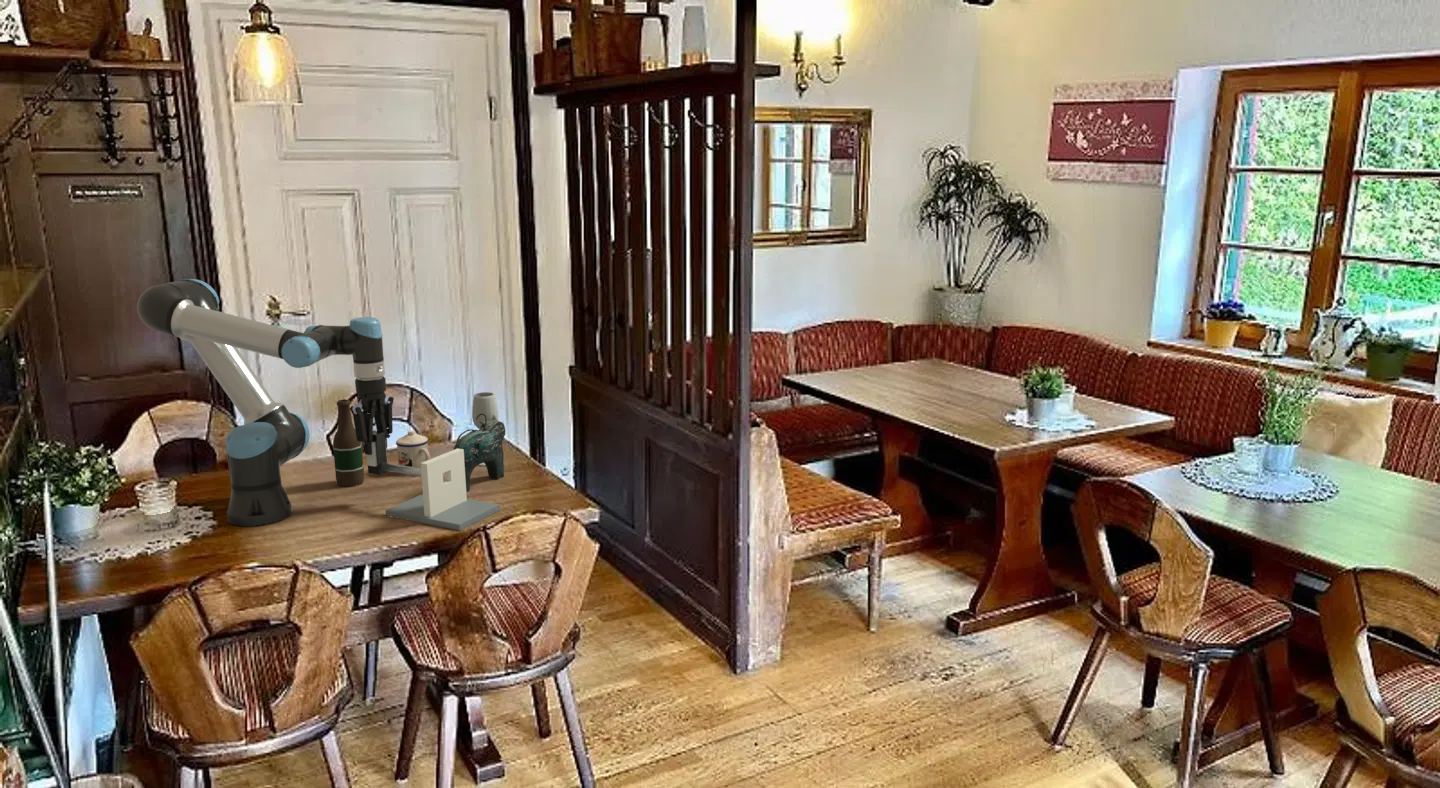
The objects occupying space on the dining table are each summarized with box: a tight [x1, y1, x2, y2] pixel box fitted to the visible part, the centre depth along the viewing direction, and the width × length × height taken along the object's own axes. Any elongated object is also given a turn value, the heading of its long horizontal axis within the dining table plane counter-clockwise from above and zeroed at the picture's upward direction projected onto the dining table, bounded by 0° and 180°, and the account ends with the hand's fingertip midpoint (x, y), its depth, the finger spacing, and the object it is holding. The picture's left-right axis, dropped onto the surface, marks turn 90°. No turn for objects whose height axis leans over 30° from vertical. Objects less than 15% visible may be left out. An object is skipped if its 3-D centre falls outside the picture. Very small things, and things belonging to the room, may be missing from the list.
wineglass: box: [471, 391, 499, 467], centre depth 301 cm, size 8×8×21 cm
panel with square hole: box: [385, 448, 501, 531], centre depth 260 cm, size 16×24×16 cm, turn 65°
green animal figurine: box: [453, 413, 506, 493], centre depth 282 cm, size 20×6×20 cm, turn 152°
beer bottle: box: [332, 399, 365, 488], centre depth 283 cm, size 8×8×24 cm
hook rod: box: [367, 430, 422, 478], centre depth 264 cm, size 3×22×11 cm, turn 65°
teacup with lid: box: [395, 430, 431, 469], centre depth 295 cm, size 12×9×12 cm
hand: (377, 463), depth 268 cm, fingers closed on hook rod, 3 cm apart
